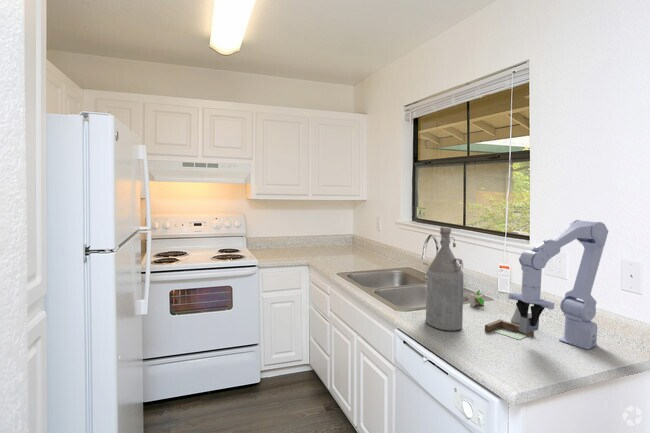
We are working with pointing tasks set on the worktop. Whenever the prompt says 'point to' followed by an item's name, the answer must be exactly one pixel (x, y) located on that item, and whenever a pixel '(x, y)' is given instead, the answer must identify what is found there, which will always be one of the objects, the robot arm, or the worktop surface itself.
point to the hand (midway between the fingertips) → (529, 324)
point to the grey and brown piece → (505, 325)
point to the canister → (445, 287)
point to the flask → (516, 316)
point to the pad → (515, 336)
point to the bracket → (527, 324)
